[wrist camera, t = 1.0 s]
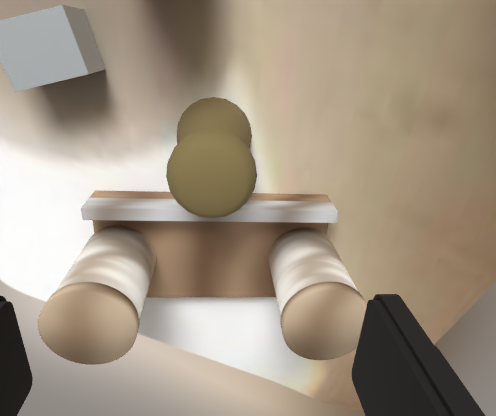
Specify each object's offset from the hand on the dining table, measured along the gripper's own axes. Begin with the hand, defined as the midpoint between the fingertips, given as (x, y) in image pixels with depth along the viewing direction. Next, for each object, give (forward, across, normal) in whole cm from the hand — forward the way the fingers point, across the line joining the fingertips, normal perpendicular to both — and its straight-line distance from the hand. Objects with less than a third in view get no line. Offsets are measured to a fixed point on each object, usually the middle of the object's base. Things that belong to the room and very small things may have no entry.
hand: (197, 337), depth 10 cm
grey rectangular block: (+22, +11, -6) cm, 25 cm away
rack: (+22, 0, +10) cm, 24 cm away
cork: (+22, 0, 0) cm, 22 cm away
